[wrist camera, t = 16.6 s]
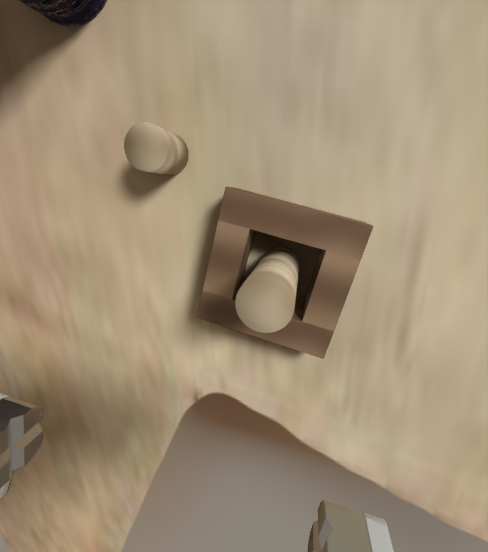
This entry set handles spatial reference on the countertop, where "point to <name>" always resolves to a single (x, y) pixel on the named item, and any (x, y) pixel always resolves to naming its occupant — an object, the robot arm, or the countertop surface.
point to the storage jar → (67, 10)
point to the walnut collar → (296, 227)
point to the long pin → (269, 292)
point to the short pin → (155, 149)
